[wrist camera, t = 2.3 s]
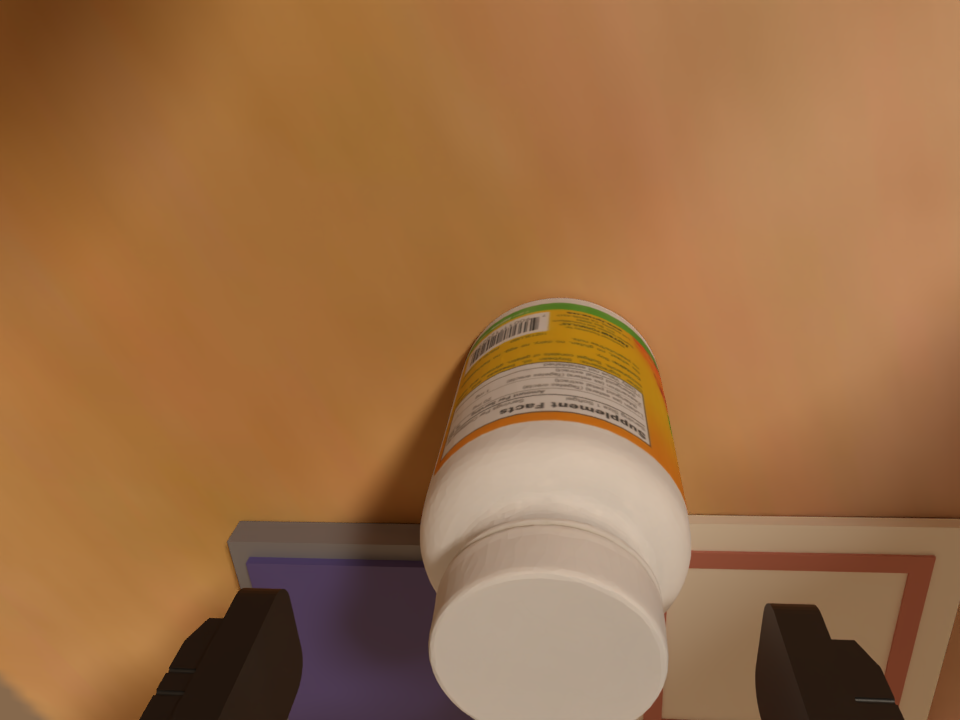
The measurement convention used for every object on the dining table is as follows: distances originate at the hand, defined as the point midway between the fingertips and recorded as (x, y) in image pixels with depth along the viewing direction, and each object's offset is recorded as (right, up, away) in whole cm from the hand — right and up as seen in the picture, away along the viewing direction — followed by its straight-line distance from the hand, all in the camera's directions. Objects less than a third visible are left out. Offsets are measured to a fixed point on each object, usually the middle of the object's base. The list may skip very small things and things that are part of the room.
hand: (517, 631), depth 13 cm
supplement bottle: (+2, +4, +8) cm, 9 cm away
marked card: (+9, -4, +12) cm, 15 cm away
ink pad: (-4, -5, +13) cm, 14 cm away
